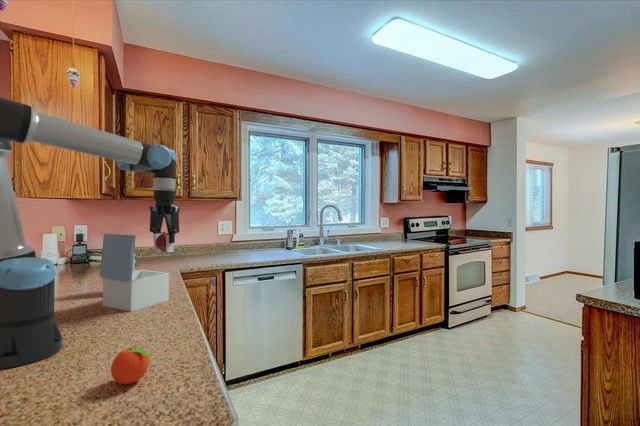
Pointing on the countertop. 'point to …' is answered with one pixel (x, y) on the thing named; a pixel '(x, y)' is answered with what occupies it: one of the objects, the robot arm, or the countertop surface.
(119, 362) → the clementine
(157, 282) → the storage box
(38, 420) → the countertop surface
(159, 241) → the onion
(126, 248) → the lid
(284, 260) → the countertop surface
